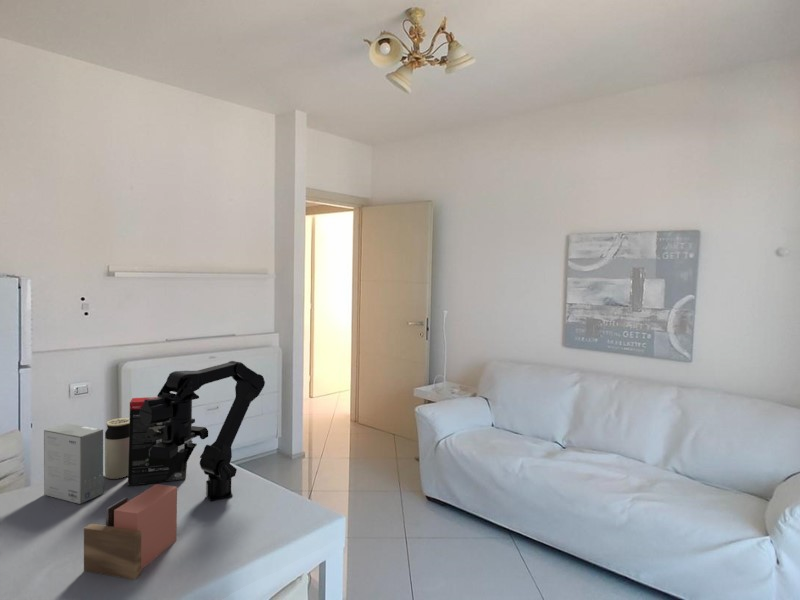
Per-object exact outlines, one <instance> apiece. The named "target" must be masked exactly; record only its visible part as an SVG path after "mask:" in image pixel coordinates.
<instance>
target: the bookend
mask: <svg viewBox="0 0 800 600" xmlns="http://www.w3.org/2000/svg"><path fill="white" fill-rule="evenodd" d="M128 498H129V497H128V496H125V497H123V498H122V499H120V500H118V501H117V502H115V503H114V504H112V505H111V504H110V506H108V507H107V508H106V509H105V526H111V527H114V510H115V509H117V508H119V507H120V506H122V505H123V504H125V503H127V502H128V501H129V500H128Z"/></svg>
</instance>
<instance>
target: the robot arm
mask: <svg viewBox="0 0 800 600" xmlns="http://www.w3.org/2000/svg"><path fill="white" fill-rule="evenodd" d="M228 378H232V379H233V380H234V382H236V383H235V384H236V385H235V387H234V389H235V390H234V392H235V397H234V400H233V402H232V405H231V407H230V409H229V411H228V413H227V415H226V417H225V420H224V422H223V424H222V426H221V428H220V430H219V433H218V435H217V438H216V439H215V441H214V442H213V443H212V444H206V445H205V446H204V448H203V451H202V454H201V455H200V456H199V458H200V461H199V466H200V468H201V470H202V471H203V473H204V475H207V476H208V477H207V480H206V481H205V482H206V483H205V495H206V496H207V497H208V498H209V501H210V502H213V501H218V500H223V499H228V498H233V496H234V494H233V492H232V479H233V477H236V474H237V470H238V469H237V468H236V467H235V466H233V465H232V464H231V461H232V458H233V457H232V456H233V454H232V452H233V451H232V445H233V443H234V442H235V438H236V436H237V435H238V432H239V430H240V428H241V425H242V423H243V421H244V418H245V416H246V414H247V411H248V410H249V407H250V405H251V403H252V402H253V401H254V400H255V399H256V398H258V397H259V396H260V394H261V392H262V391H263V390H264V387H265V385H266V381H265V379H264V375H262V374H260V373H257V372H256V371H254V370H253V369H250V368H249V367H248V366H246V365H245V364H244V363H243V362H241V361H236V360H231V361H228V362H224V363H221V364H217V365H214V366H209V367H205V368H201V369H199V370H179V371H178V370H175V371H172V372H171V373H169V375H168V376H167V378H166V381H165V383H164V384H163V386H162V387H161V389H160V390H159V392H158V394H157V395H156V397H158V398H154V399H145V400H144V405H142V407H141V410H140V411H139V415H140V420H141V422H142V423H143V424H144V425H145V426H149V425H153V424H156V423H160V422H164V421H167V422H166V423H165V425H164V426H161V427H158V428H157V427H153V428H150V429H147V438H148V440H152V442H155V441H156V440H160V439H163V438H164V441H168V440H170V443H166V442H160V443H158V444H156V445H154V446H152V447H151V448H150V449H149V457H154V458H163V459H169V458H172V459H173V461H174V464H175V466H176V469H177V471H178V472H181V471H183V469H184V467H185V465H186V463H187V464H188V461H189V459H190V457H191V455H192V453H193V451H194V449H195V448H196V447H197V445H198V444H197V443H193V439H194V438H197V437H199V438H200V439H201V440H205V439H206V438H208V437H209V430H208V429H207V427H203V426H195V425H193V424H194V423H196V419H195V418H193V400H198V399H200V396H199V395H198V394H197V393H196V391H198V390H200V388H201V387H202V386H204V385H206V384H210V383H214V382H217V381H220V380H223V379H228ZM172 392H173V393H172ZM168 420H169V421H168Z"/></svg>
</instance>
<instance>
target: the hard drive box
mask: <svg viewBox="0 0 800 600" xmlns="http://www.w3.org/2000/svg"><path fill="white" fill-rule="evenodd" d="M43 481H44V482H43V489H44V490H43V493H44V494H43V495H45V496H48V497H52V498H56V499H59V500H63V501H68V502H70V503H75V504H79V505H80V504H83V503H85V502H87V501H89V500H92V499H94V498H96V497H98V496H101V495H103V494H104V429H103V428H102V429H101V428H96V427H91V426H83V425H78V424H71V423H64V424H61V425H57V426H54V427H51V428H47V429H43Z"/></svg>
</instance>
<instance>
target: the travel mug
mask: <svg viewBox="0 0 800 600" xmlns="http://www.w3.org/2000/svg"><path fill="white" fill-rule="evenodd" d="M105 425H106V430H105V433H104V477H105V478H107V479H109V480H110V479H111V480H118V479H119V478H120V479H123V477H124V478H126V476H127V477H128V464H129V427H130V417H122V418H121V417H120V418H113V419H110V420H107V421H106V422H105Z"/></svg>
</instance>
